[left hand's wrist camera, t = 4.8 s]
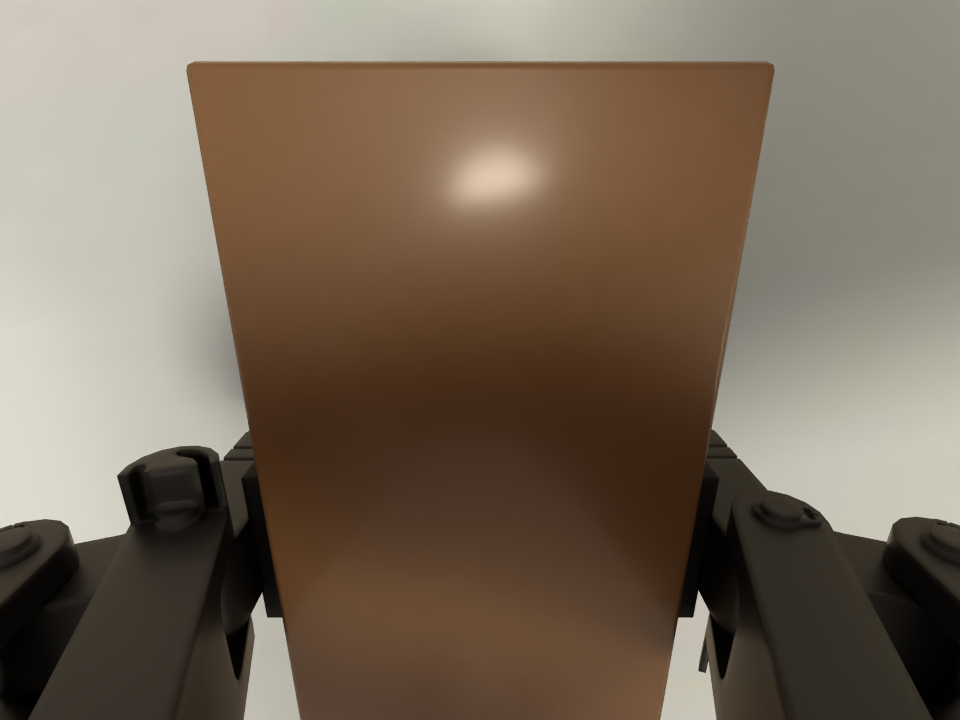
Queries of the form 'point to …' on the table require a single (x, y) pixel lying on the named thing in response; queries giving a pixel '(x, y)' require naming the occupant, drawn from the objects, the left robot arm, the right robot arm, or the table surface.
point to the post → (480, 364)
